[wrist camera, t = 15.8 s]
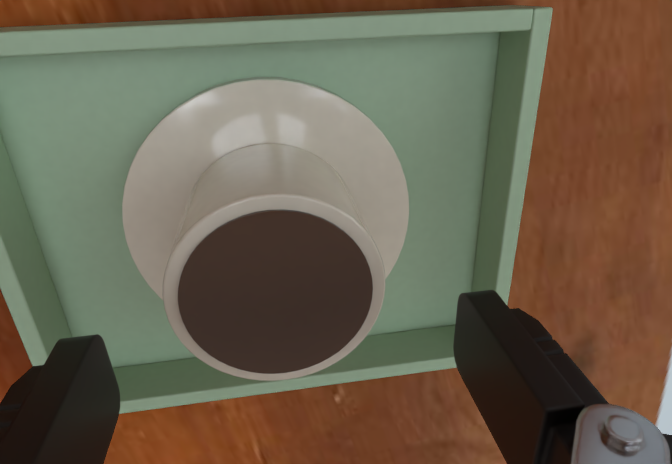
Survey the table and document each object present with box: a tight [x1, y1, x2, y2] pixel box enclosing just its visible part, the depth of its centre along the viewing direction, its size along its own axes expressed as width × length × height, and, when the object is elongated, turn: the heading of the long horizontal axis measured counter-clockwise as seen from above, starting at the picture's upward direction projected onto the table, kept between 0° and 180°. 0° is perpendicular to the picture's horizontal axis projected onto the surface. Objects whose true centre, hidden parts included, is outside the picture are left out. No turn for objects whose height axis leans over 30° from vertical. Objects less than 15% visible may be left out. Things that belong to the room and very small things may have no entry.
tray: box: [0, 5, 553, 414], centre depth 17 cm, size 17×13×3 cm
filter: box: [122, 77, 409, 381], centre depth 15 cm, size 10×10×5 cm
